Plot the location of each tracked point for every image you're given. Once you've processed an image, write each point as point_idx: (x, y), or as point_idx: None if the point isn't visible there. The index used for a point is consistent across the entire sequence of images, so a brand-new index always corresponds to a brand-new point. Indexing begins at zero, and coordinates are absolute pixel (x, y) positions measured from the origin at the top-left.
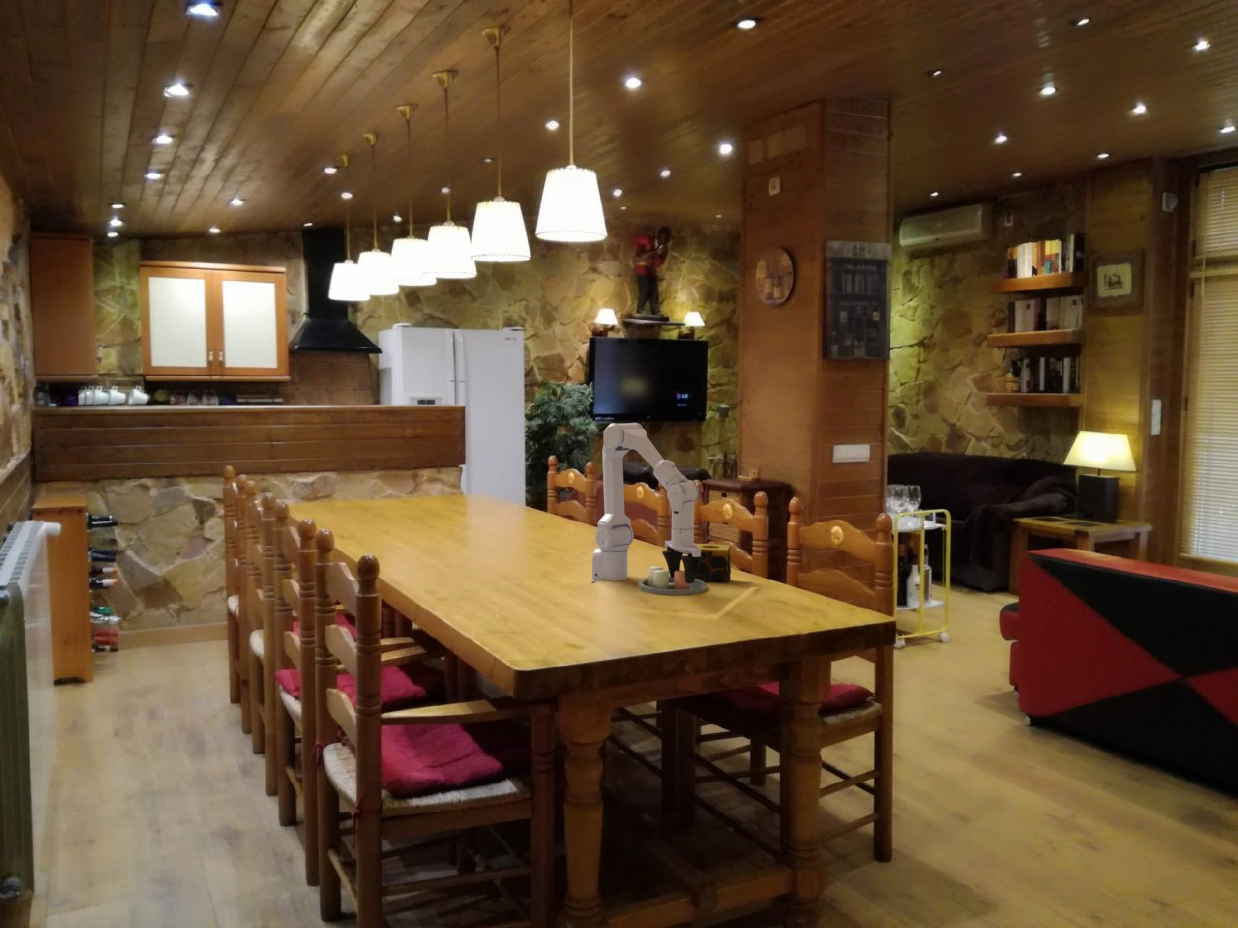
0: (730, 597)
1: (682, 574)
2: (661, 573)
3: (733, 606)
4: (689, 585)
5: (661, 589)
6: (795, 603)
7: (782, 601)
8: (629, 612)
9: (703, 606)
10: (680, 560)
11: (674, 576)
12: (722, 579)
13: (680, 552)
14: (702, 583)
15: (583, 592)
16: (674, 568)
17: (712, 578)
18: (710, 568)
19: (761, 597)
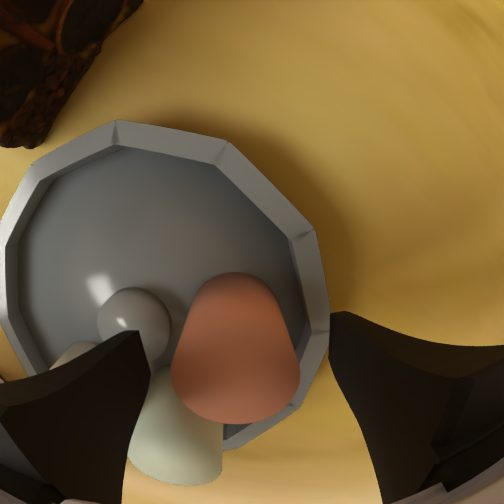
0: (379, 101)
1: (290, 393)
2: (219, 472)
3: (493, 200)
4: (272, 298)
5: (264, 429)
6: (483, 9)
7: (463, 10)
8: (375, 483)
9: (453, 305)
10: (78, 382)
11: (145, 361)
12: (113, 4)
13: (41, 441)
14: (194, 158)
15: (123, 500)
16: (125, 393)
17: (74, 45)
18: (40, 35)
19: (405, 6)
